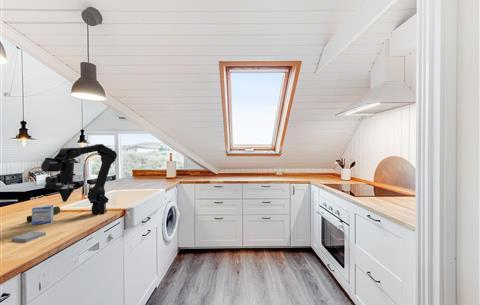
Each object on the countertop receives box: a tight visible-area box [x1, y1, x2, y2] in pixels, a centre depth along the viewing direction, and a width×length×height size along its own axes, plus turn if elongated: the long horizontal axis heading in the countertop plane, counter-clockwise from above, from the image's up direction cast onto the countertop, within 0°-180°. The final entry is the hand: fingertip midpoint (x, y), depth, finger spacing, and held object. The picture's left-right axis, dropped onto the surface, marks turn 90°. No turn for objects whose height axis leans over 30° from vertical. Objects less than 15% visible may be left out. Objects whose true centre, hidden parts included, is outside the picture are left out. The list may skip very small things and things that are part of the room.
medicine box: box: [31, 204, 55, 226], centre depth 117 cm, size 8×4×9 cm, turn 117°
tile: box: [11, 230, 47, 243], centre depth 97 cm, size 2×8×8 cm
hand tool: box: [26, 205, 61, 224], centre depth 127 cm, size 19×4×5 cm, turn 175°
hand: (64, 201), depth 114 cm, fingers closed
